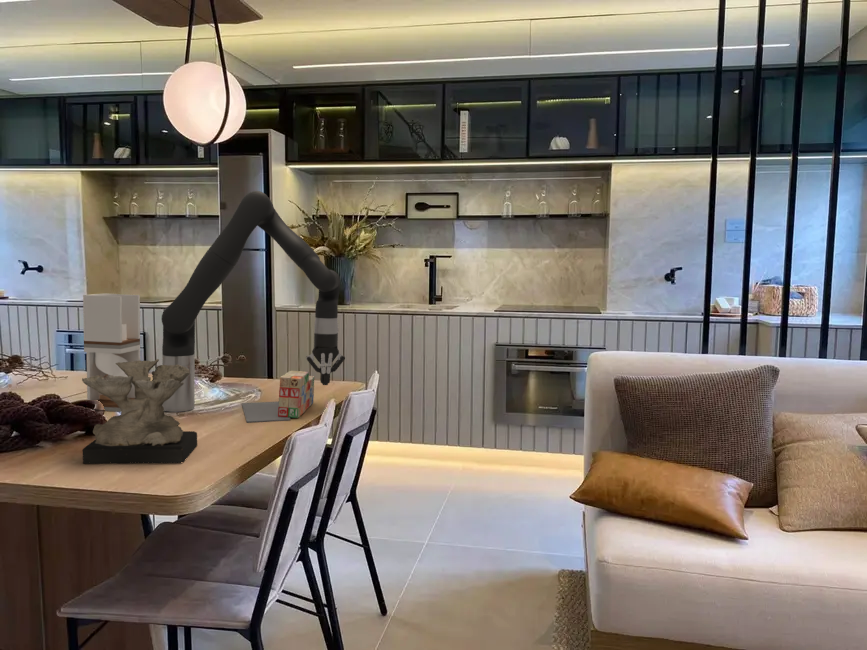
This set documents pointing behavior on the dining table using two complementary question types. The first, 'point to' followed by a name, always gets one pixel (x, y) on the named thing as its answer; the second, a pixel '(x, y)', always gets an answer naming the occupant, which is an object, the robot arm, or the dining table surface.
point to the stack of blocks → (295, 393)
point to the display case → (110, 338)
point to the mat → (262, 412)
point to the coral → (140, 418)
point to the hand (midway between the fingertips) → (324, 384)
